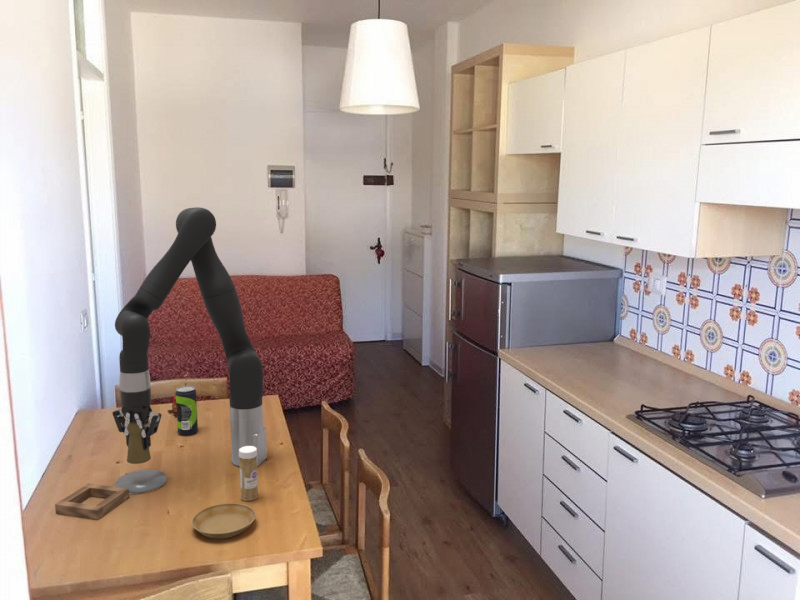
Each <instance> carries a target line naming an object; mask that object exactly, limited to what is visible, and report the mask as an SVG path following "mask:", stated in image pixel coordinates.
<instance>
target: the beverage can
mask: <svg viewBox="0 0 800 600" xmlns="http://www.w3.org/2000/svg"><path fill="white" fill-rule="evenodd" d="M175 393H176V408H177V417H176V422H177V423H176V424H177V425H176V426H177V433H178V434H179V435H180V436H186V437H187V436H193V435H195V434H196V433H197V432H198V429H199V428H198V426H199V425H198V407H197V405H198V404H197V401H198V400H197V390H196V387H195V386H193V385H186V386H185V385H183V386H178V387H176V392H175Z"/></svg>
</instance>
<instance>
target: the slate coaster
mask: <svg viewBox="0 0 800 600" xmlns="http://www.w3.org/2000/svg"><path fill="white" fill-rule="evenodd" d="M167 477H168V476H167V474H166V473H165V472H164V471H162V470H158V469H142V470H139V469H138V470H134V471H131V472H128V473H125V474H123V475H121V476H120V477H118V478H117V479H116V481H115V483H114V485H115V486H114V487H120V488H127V489H129V493H133V494H132V495H140V494H139V493H142V494H145V493H144V492H147V493H149V492H148V491H151V492H153V491H152V490H154V491H156V490H158V489H157V488H159V489H160V488H162V487H164V486H165V484H166V483H167V482H168V481H167V480H168V479H167ZM161 486H162V487H161ZM155 489H156V490H155ZM136 493H137V494H136Z"/></svg>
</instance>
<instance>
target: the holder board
mask: <svg viewBox="0 0 800 600" xmlns="http://www.w3.org/2000/svg"><path fill="white" fill-rule="evenodd" d="M93 496H94V497H95V498H100V497H102V498H101V499H103V500H102V501H100V502H98V503H97V504H96V505H94V504H87V503H83V502H84V501H86V500H87V499H90V497H93ZM103 497H104V498H103ZM128 497H129V498H130V494H129V489H127V488H120V487H115V486H112V485H111V486H109V485H106V484H105V485H103V484H95V483H89V482H88V483H87V484H86V485H84V486H83V487H81V488H79V489H77V490H75V491H74V492H72V493H71V494H69V495H68V496H66V497H65V498H63V499H62V500H59V501H58V502H56V503H55V504H54V507H55V514H57V515H65V516H71V517H76V518H77V517H78V518H85V519H90V520H97V521H99V520H100V519H101V518H102V517H104V516H106V515H107V514H109V512H111V511H112V510H114V509H115V508H117V507H118V506H120V503H121V502H122V503H123V502H125V501H126V500H127V499H126V498H128ZM129 498H128V499H129ZM125 499H126V500H125ZM124 500H125V501H124ZM122 503H121V504H122ZM117 505H118V506H117ZM114 507H115V508H114ZM113 508H114V509H113Z"/></svg>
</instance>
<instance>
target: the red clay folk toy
mask: <svg viewBox="0 0 800 600" xmlns="http://www.w3.org/2000/svg"><path fill="white" fill-rule="evenodd" d="M189 376H190V374H189V372H187V373H186V374H184V375H183V377H184V378H185V381H184V386H187V379H188V377H189ZM172 400H173V401H172V405H171V407H172V408H171V410H172V415H174V417H176V418H177V408H176V392H175V394H174V397H173V399H172Z"/></svg>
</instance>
